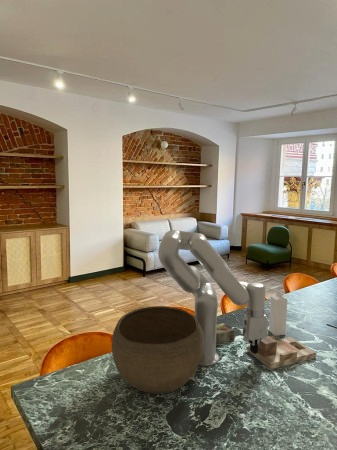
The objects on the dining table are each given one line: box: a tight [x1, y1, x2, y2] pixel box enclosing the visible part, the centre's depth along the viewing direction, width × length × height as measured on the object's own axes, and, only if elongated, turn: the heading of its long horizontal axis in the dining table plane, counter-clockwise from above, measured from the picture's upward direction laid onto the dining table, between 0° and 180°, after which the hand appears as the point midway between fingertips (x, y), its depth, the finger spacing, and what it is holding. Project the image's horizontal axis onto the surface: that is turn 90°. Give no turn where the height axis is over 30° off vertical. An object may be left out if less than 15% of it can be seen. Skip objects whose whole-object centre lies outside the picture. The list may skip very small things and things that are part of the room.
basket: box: [111, 305, 204, 395], centre depth 130 cm, size 35×35×25 cm
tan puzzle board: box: [247, 335, 317, 370], centre depth 152 cm, size 25×16×5 cm, turn 112°
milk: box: [268, 289, 288, 337], centre depth 172 cm, size 6×6×22 cm
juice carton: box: [216, 322, 236, 345], centre depth 165 cm, size 20×10×6 cm, turn 114°
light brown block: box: [258, 335, 277, 357], centre depth 148 cm, size 6×6×6 cm
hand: (253, 352), depth 146 cm, fingers closed
